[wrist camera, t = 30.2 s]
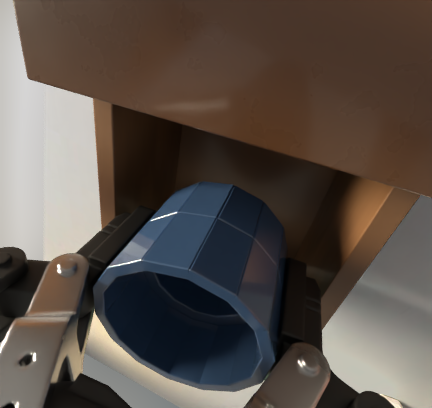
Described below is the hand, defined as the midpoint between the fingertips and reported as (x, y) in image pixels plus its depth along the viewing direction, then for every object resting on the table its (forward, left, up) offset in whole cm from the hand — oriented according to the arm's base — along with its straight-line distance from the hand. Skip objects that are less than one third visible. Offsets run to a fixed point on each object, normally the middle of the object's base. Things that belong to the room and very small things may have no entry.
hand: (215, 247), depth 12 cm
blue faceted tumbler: (0, 0, -1) cm, 1 cm away
